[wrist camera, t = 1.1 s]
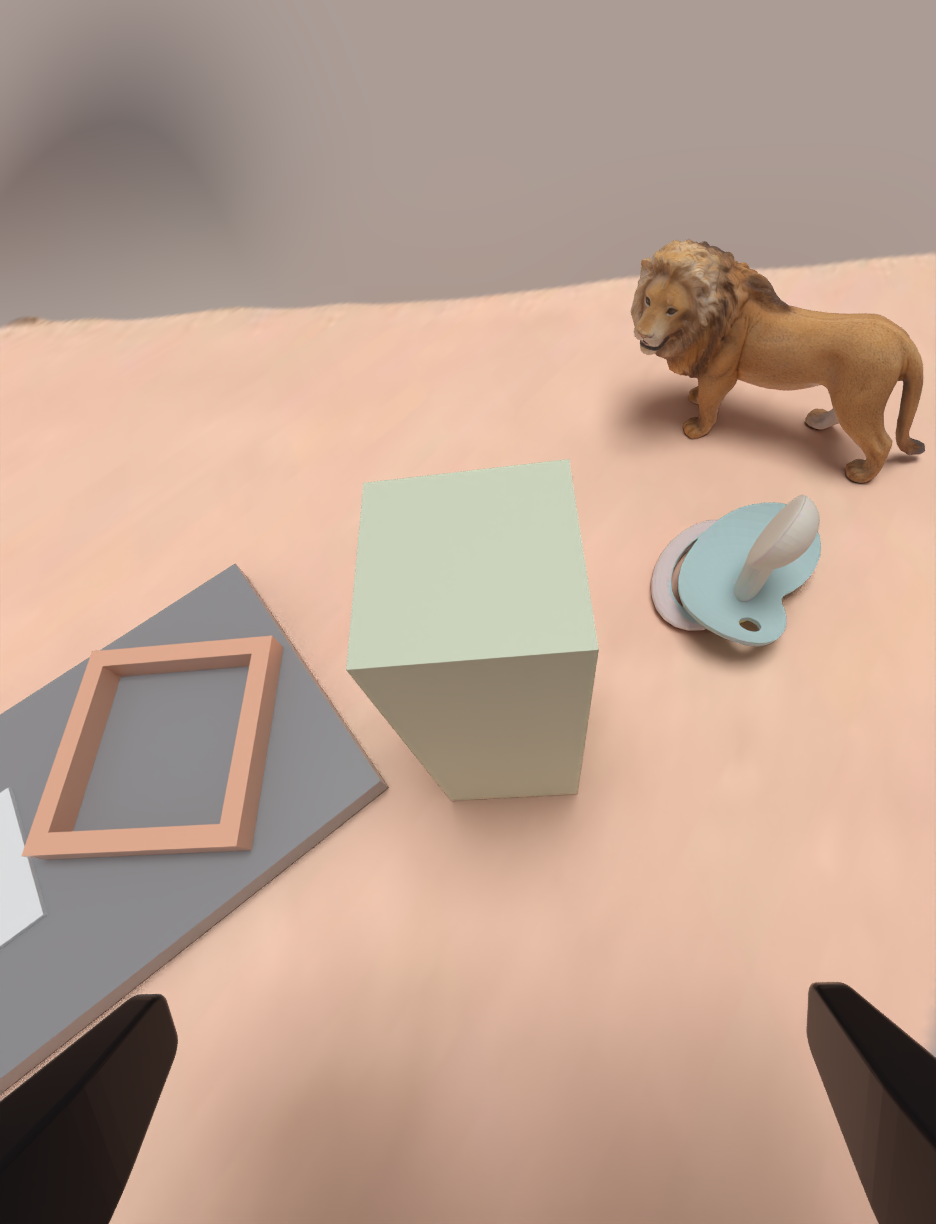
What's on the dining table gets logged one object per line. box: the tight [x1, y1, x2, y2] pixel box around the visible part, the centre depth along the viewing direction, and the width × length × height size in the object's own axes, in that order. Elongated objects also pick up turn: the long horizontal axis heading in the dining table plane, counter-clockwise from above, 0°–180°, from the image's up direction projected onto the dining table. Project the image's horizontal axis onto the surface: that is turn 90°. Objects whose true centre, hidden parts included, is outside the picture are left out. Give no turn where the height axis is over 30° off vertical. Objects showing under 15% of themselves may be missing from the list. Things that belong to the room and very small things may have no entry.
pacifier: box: [651, 495, 821, 646], centre depth 23 cm, size 7×6×6 cm
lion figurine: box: [631, 240, 925, 482], centre depth 26 cm, size 15×5×9 cm, turn 68°
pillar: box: [346, 459, 599, 801], centre depth 18 cm, size 5×5×13 cm
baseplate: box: [0, 564, 389, 1094], centre depth 24 cm, size 20×14×2 cm
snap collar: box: [22, 636, 284, 860], centre depth 23 cm, size 9×9×1 cm
